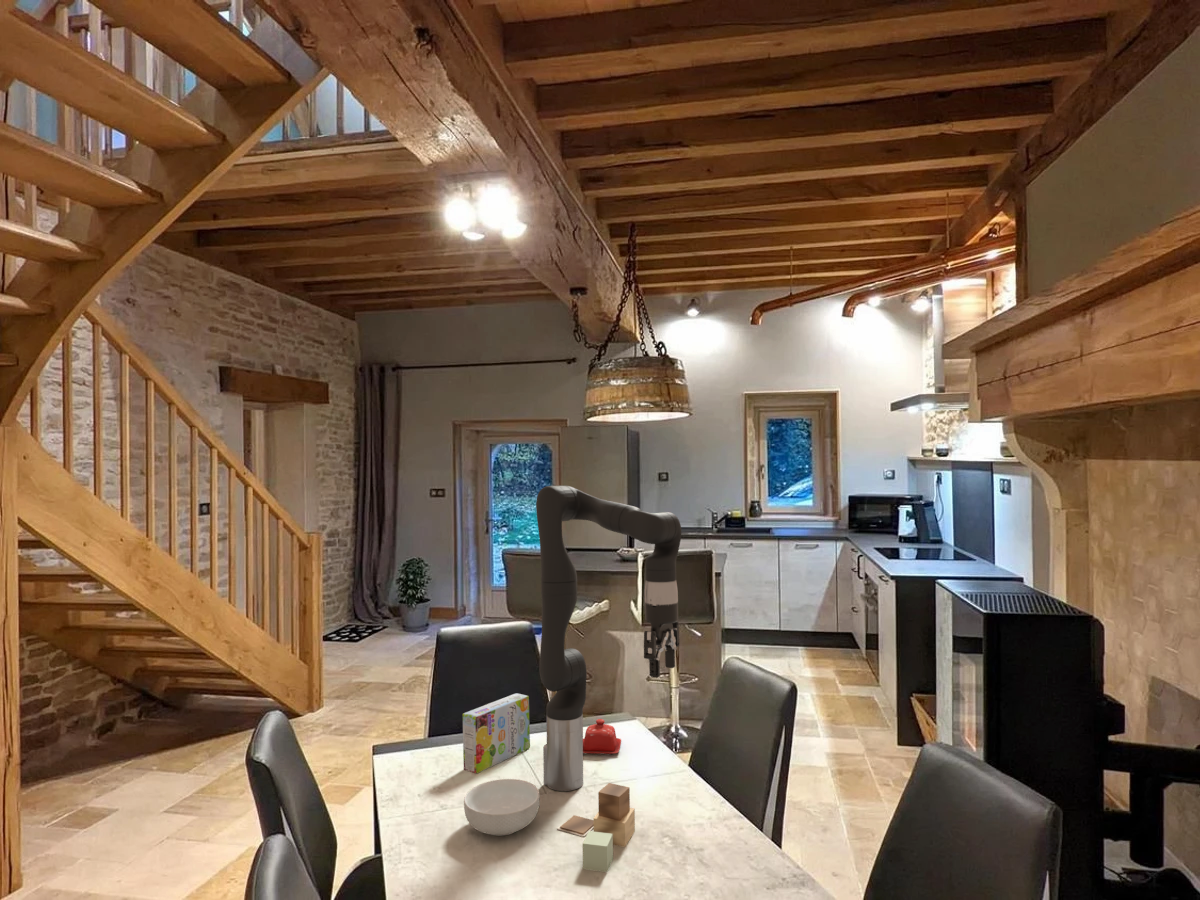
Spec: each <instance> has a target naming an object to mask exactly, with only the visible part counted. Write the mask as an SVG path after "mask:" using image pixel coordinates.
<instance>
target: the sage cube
mask: <svg viewBox="0 0 1200 900" xmlns="http://www.w3.org/2000/svg"><path fill="white" fill-rule="evenodd" d="M613 859H614V845H613V834H611V833H602V832H594V830H591V831H589V832H588V834H587V835H586V836H585V837H584V840H583V842H582V870H588V871H597V872H604V873H607V872H608V871H609V869H610V867H611V864H612V862H613Z"/></svg>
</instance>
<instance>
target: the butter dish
mask: <svg viewBox="0 0 1200 900" xmlns="http://www.w3.org/2000/svg"><path fill="white" fill-rule="evenodd" d="M605 722H606V721H605V719H602V718H597V719H596V721H595V723H594V724H591V725H588V726H587V728H586V730H585V735H584V737H583V754H586V755H587V754H590V755H591V754H592V755H614V754H615V755H616V754H618V753H619V752H620V749H621V744H622V739H621V738H618V737H617V735H616V734H617V733H616V728H615V727H614V726H613V725H610V724H607V723H605Z"/></svg>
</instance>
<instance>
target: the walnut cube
mask: <svg viewBox="0 0 1200 900" xmlns="http://www.w3.org/2000/svg"><path fill="white" fill-rule="evenodd" d="M597 794H598V812H599V816H602V817H606V818H610V819H614V820H618V821H620V820H621V819H622V818H623V817H624V816H625V815H626V814H627V813H628V812H629V811H630V808H631V805H630V804H631V801H630V800H631V799H630V787H629V786H625V785H619V784H615V783H612V782H608V783H607V784H606V785H605V786H604V787H602V788H601V789H600V790H599V791H598V793H597Z"/></svg>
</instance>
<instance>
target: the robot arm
mask: <svg viewBox="0 0 1200 900" xmlns="http://www.w3.org/2000/svg"><path fill="white" fill-rule="evenodd" d="M535 509H536V520H537V528H538V537H539V547H540V548H539V549H540V591H541V592H540V594H541V598H540V599H541V639H540V640H541V641H540V651H539V663H538V664H539V665H538V666H539V675H540V676H539V677H540V681H541V683H542V685H543V686H544V688H545V689H546V690H548V691H550V692H555V694H554V695H553V697H551V699H550V700H549V701H547V703H546V714H545V715H546V743H545V744H544V745H543V754H542V755H543V756H542V757H543V758H542V760H543V764H542V765H543V785H545V786H547V787H548V788H550V790H554V791H558V792H569V791H575V790H577V789H579V788H581V787H582V786H583V784H584V753H583V739H584V727H583V726H584V724H583V722H584V721H583V720H584V715H583V710H584V706H585V703H586V698H587V677H588V676H587V664H586V661H585V658H584V655H583V654H582V653H581V652H580V650H578V649H576V648H572V647H571V648H565V643H566V642H565V639H566V638H565V637H566V633H567V628H568V626H569V624H570V620H571V618H572V616H573V613H574V611H575V608H576V606H577V605H576V604H577V601H578V600H577V599H578V574H577V571H576V570H577V569H576V567H575V565H574V563H573V560H572V558H571V557H570V554H569V552H568V550H567V549H566V547H565V544H564V540H563V539H564V538H563V522H566V521H567V522H568V521H570V520H571V521H573V520H574V521H575V520H578V521H579V520H580V521H581V520H582V521H589V522H593V523H595V524H597V525H598V526H600V527H601V528H603V529H605V530H608V531H611V532H614V533H617V534H622V535H626V536H629V537H631V538H633V539H635V540H638V542H642V543H644V544H648V545H649V544H650V545H654V549H653V551H652V553H651V554H649V555H648V556H647V557H646V559H645V584H644V619H645V621H646V622H647V623H650V625H651V626H650V630H644V631H643V632H644V633H643V659H646V660H649V661H648V663H649V677H650V678H655V679H657V678H660V676H661V667H660V666H661V662H660V659H661V655H662V653H663V652H664V656H665V657H664V660H665V661H664V662H665V664H664V665H665V667H666V668H668V669H674V668H675V667H676V651H677V648H679V647H680V627H679V621H678V620H679V596H678V595H679V592H678V584H677V559H678V554H679V549H680V545H681V539H682V525H681V522H680V519H679V518H678V516H677V515H675V513H672V512H671V511H670V512H668V511H663V512H647V511H643V510H642V509H641V508H640V507H637V506H633V505H631V504H630V505H629V504H624V503H620V502H617V501H610V500H606V499H601V498H599V497H596V496H594V495H591V494H588V493H586V492H584V491H582V490H580V489H577V488H575V487H573V486H570V485H547V486H544V487H542V488H541V489H540V490H539V491H538V494H537V496H536V504H535ZM664 650H665V651H664Z"/></svg>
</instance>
